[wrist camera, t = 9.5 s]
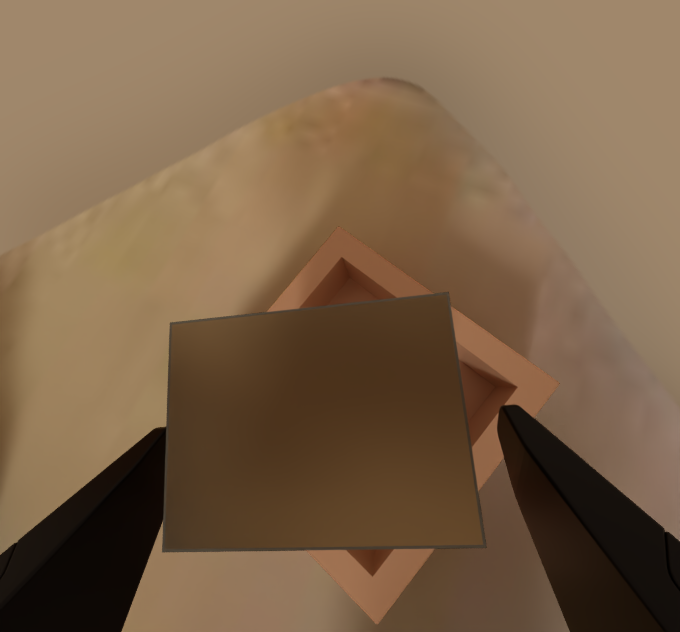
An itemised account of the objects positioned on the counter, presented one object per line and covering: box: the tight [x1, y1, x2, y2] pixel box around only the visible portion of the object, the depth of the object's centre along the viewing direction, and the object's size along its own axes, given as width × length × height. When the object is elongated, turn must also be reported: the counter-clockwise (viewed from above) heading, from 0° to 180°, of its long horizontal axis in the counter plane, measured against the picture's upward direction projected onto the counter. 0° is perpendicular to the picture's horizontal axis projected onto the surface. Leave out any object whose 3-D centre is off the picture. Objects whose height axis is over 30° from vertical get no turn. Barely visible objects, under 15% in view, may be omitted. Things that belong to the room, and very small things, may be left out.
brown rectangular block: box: [162, 292, 487, 552], centre depth 13 cm, size 5×6×12 cm
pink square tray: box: [267, 226, 560, 625], centre depth 17 cm, size 12×12×4 cm
